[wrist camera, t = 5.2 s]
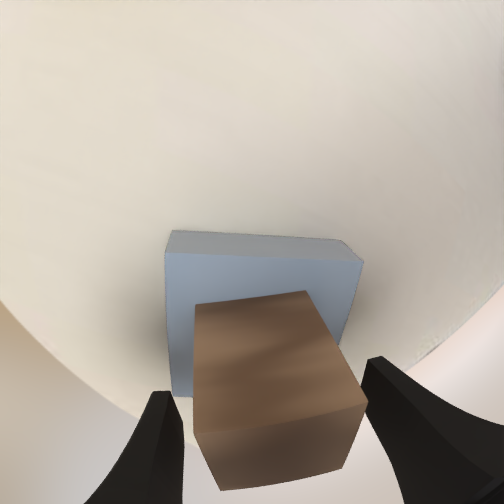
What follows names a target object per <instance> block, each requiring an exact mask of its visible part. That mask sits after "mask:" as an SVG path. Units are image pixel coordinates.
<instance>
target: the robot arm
mask: <svg viewBox="0 0 504 504" xmlns="http://www.w3.org/2000/svg"><path fill="white" fill-rule="evenodd" d="M360 387H361V389H362V391H363V392H364V394H365V396H366V398H367V400H368V404H367V407H366V410H365V413H366V415H367V417H368V419H369V421H370V423H371V425H372V427H373V429H374V431H375V433H376V435H377V436H378V438H379V440H380V442H381V444H382V446H383V448H384V449H385V451H386V453H387V455H388V457H389V460H390V462H391V464H392V466H393V469H394V472H395V475H396V478H397V480H398V484H399V487H400V490H401V493H402V496H403V500H404V504H504V425H500V424H496V423H493V422H490V421H487V420H484V419H481V418H479V417H476V416H474V415H472V414H469V413H467V412H465V411H463V410H461V409H459V408H457V407H455V406H453V405H451V404H449V403H448V402H446V401H444V400H443V399H441V398H440V397H438V396H436V395H435V394H433V393H432V392H430V391H429V390H427V389H426V388H424V387H423V386H421V385H420V384H418V383H417V382H416V381H414V380H413V379H412V378H410V377H409V376H408V375H406V374H405V373H404V372H402V371H401V370H400V369H398V368H397V367H396V366H394V365H393V364H392V363H391V362H389V361H388V360H387V359H385V358H384V357H383V356H379V357H375V358H371V359H368V360H367V364H366V368H365V372H364V376H363V379H362V383H361V386H360ZM183 466H184V431H183V421H182V419H181V417H180V414H179V412H178V409H177V407H176V404H175V402H174V399H173V397H172V394H171V392H170V391H153V392H152V394H151V396H150V398H149V401H148V403H147V405H146V407H145V410H144V412H143V414H142V416H141V418H140V420H139V422H138V424H137V426H136V428H135V430H134V432H133V434H132V436H131V438H130V440H129V442H128V443H127V445H126V447H125V448H124V450H123V452H122V454H121V455H120V457H119V459H118V461H117V462H116V463H115V465H114V466H113V468H112V470H111V471H110V472H109V474H108V475H107V476H106V478H105V479H104V481H103V482H102V483H101V484H100V486H99V487H98V488H97V489H96V491H95V492H94V493H93V494H92V495H91V497H90V498H89V499H88V500H87V501H86V502H85V503H84V504H182V490H183Z"/></svg>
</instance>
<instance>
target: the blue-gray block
mask: <svg viewBox="0 0 504 504" xmlns="http://www.w3.org/2000/svg"><path fill="white" fill-rule="evenodd" d="M363 263H364V261H363V260H362V259H361V258H360V257H359V256H357V255H356V254H355V253H354V252H353V251H352V250H351V249H350V248H349V247H348V246H346V245H345V244H344V243H343V242H342V241H341V240H331V239H316V238H301V237H286V236H270V235H254V234H236V233H218V232H199V231H179V230H172V232H171V235H170V238H169V241H168V244H167V247H166V250H165V291H166V317H167V335H168V349H169V362H170V374H171V384H172V394H173V396H176V397H193V360H194V323H195V304H203V303H212V302H220V301H229V300H237V299H245V298H253V297H260V296H268V295H275V294H282V293H289V292H296V291H303V290H306V291H307V293H308V295H309V296H310V298H311V300H312V302H313V303H314V305H315V307H316V309H317V310H318V312H319V314H320V315H321V317H322V319H323V321H324V322H325V324H326V326H327V328H328V329H329V331H330V333H331V335H332V337H333V338H334V340H335V342H336V344H337V345H339V342H340V339H341V336H342V333H343V330H344V327H345V324H346V321H347V318H348V315H349V311H350V308H351V305H352V302H353V298H354V295H355V292H356V288H357V285H358V281H359V278H360V274H361V270H362V266H363Z"/></svg>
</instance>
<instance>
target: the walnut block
mask: <svg viewBox="0 0 504 504" xmlns="http://www.w3.org/2000/svg"><path fill="white" fill-rule="evenodd" d="M367 404H368V400H367V398H366V396H365V394H364V392H363V391H362V389H361V387H360V385H359V383H358V381H357V380H356V378H355V376H354V374H353V372H352V371H351V369H350V367H349V365H348V363H347V362H346V360H345V358H344V356H343V354H342V353H341V351H340V349H339V347H338V345H337V344H336V342H335V340H334V338H333V337H332V335H331V333H330V331H329V329H328V328H327V326H326V324H325V322H324V321H323V319H322V317H321V315H320V314H319V312H318V310H317V309H316V307H315V305H314V303H313V302H312V300H311V298H310V296H309V295H308V293H307V291H306V290H303V291H296V292H289V293H282V294H275V295H268V296H260V297H253V298H245V299H237V300H229V301H220V302H212V303H203V304H195V323H194V360H193V433H194V436H195V438H196V440H197V443H198V445H199V447H200V449H201V452H202V454H203V456H204V458H205V460H206V462H207V465H208V467H209V469H210V471H211V473H212V475H213V477H214V479H215V481H216V483H217V485H218V487H219V489H220V491H225V490H235V489H245V488H253V487H260V486H266V485H273V484H278V483H284V482H289V481H294V480H299V479H303V478H308V477H312V476H316V475H320V474H324V473H328V472H331V471H335V470H338V469H342V467H343V465H344V463H345V460H346V458H347V456H348V453H349V451H350V448H351V446H352V444H353V442H354V439H355V437H356V434H357V432H358V429H359V426H360V424H361V421H362V418H363V416H364V413H365V410H366V407H367Z"/></svg>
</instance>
